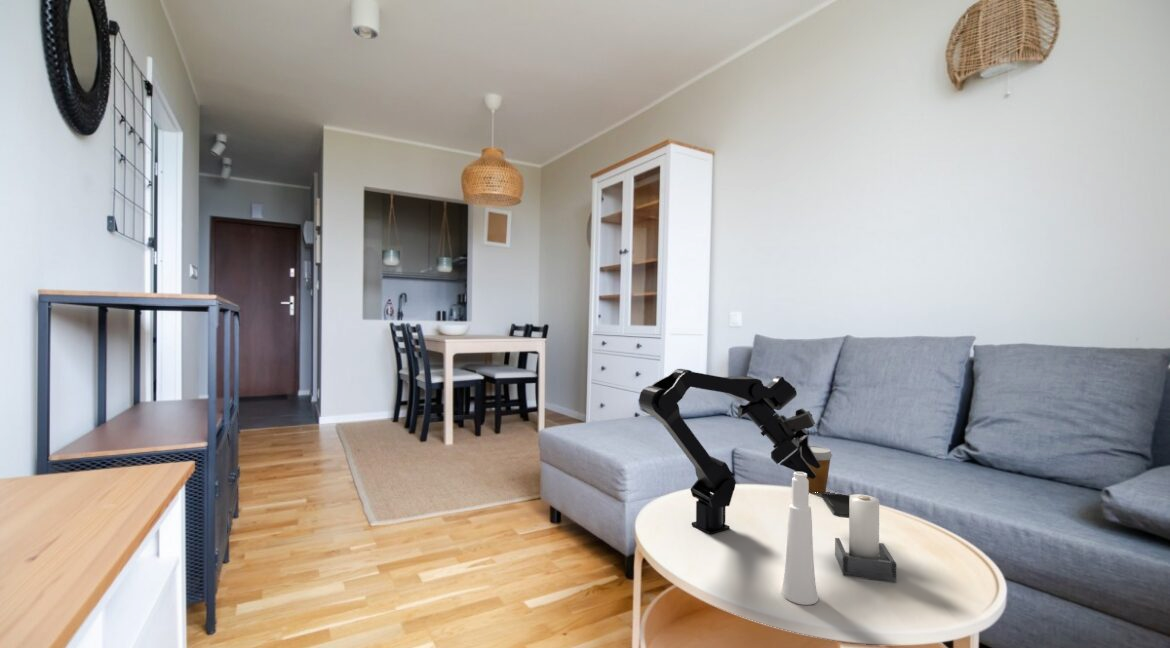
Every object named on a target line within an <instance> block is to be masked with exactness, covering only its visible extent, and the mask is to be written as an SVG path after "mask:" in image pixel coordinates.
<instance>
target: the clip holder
mask: <svg viewBox="0 0 1170 648" xmlns="http://www.w3.org/2000/svg"><path fill="white" fill-rule="evenodd" d="M834 556H835V559H836V561H837V562H838V563H837V564H838V566H839V569H840V570H841V574H842V576H844V577H851V578H852V577H853V578H859V579H867V580H872V581H873V580H874V581H880V582H882V581H883V582H888V583H897V562H896V561H895V558H894V557H893V556H892V554H891V553H890V551H889V550H888V549H887V547H886V545H885V544H884V542H879V560H878V559H870V558H862V557H854V556H849V552H846V549H845V548H844V545H843V544H842V541H841V539H840V537H835V538H834Z"/></svg>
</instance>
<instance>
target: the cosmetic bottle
mask: <svg viewBox="0 0 1170 648" xmlns="http://www.w3.org/2000/svg"><path fill="white" fill-rule="evenodd" d="M806 477H807V474H806V473H804V472H796V471H794V472H793V477H792V478H791V503H789V506H788V517H787V518H788V521H787V535H786V536H787V537H786V554H785V565H784V572H783V573H784V574H783V581H782V586H781V595H782V596H783V597H784V598H785V599H786V600H788V601H789V602H791V603H794V604H798V605H801V606H811V605H815V604H816V603H817V602H818V601H819V596H818V595H819V594H818V591H817V589H818V588H817V582H816V575H815V563H814V542H813V540H814V537H813V522H812V521H813V518H812V507H811V506H810V505H809V504H810V503H809V502H810V501H809V494H810V493H809V481H808V479H807V478H806Z"/></svg>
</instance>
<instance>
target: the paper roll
mask: <svg viewBox="0 0 1170 648" xmlns="http://www.w3.org/2000/svg"><path fill="white" fill-rule="evenodd" d="M848 518H849V519H848V521H849V523H848V525H849V527H848V529H849V532H848V534H849V535H848V553H849V556H854V557H862V558H870V559H878V560H879V543H880V500H879V499H878V498H877V497H874V496H871V495H868V494H867V495H866V494H861V493H860V494H859V493H857V494H850V495H849V516H848Z"/></svg>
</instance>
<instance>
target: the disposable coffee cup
mask: <svg viewBox="0 0 1170 648" xmlns="http://www.w3.org/2000/svg"><path fill="white" fill-rule="evenodd" d="M809 447H810V448H811V450H812V452H813V453H814V455H815V457H816V458H817V460H818V462H819V464H820V465H821V466H820V467H819V468H818V469H817V468H815V467H813V466H811V465H810V464H808V465H809V466H810V468H811V469H812V470H813V472H814V473H815V475H816V477H815V478H814V479H811V478H809V477H806V478H807V479H808V481H809V494H815V492H816V493H817V492H818V494H819V493H822V494H824V493H825V494H826V491H827V486H828V478H829V471H830V466H831V465H830V464H831V459H832V457H833V454H832V451H831V449H830V448H827V447H825V446H820V445H809Z"/></svg>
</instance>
